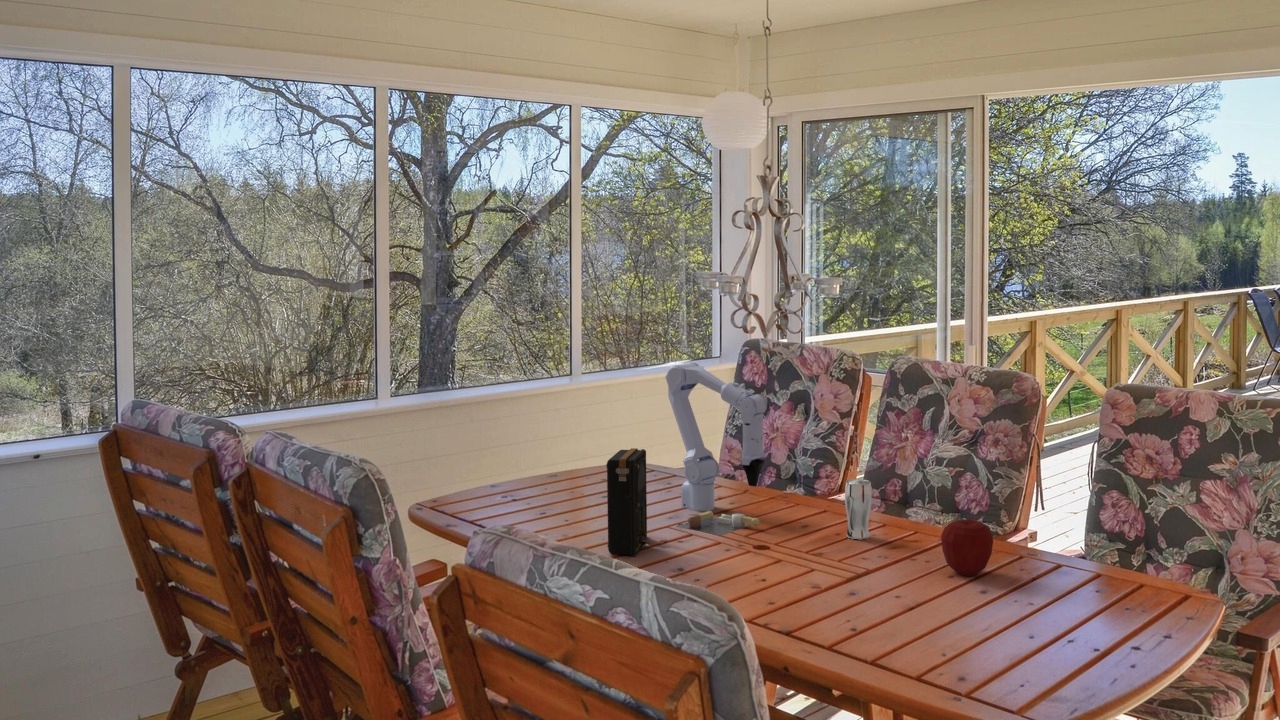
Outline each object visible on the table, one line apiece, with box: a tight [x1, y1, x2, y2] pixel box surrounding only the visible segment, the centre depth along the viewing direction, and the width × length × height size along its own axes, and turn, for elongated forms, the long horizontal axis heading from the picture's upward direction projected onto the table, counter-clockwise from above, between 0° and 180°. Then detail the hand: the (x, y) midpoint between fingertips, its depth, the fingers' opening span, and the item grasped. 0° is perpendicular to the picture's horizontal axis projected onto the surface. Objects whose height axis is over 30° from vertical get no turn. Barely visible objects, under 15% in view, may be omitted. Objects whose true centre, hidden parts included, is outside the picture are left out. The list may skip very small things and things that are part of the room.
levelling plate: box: [675, 516, 750, 537], centre depth 281 cm, size 15×14×1 cm
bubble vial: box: [717, 513, 732, 524], centre depth 285 cm, size 4×2×2 cm, turn 49°
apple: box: [940, 517, 994, 577], centre depth 240 cm, size 12×12×13 cm
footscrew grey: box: [731, 513, 760, 529], centre depth 279 cm, size 9×4×3 cm, turn 45°
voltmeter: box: [606, 447, 648, 557], centre depth 263 cm, size 16×9×25 cm, turn 168°
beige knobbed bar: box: [687, 510, 714, 528], centre depth 282 cm, size 9×4×3 cm, turn 133°
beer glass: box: [844, 478, 873, 541], centre depth 272 cm, size 7×7×15 cm
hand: (752, 485), depth 289 cm, fingers closed
